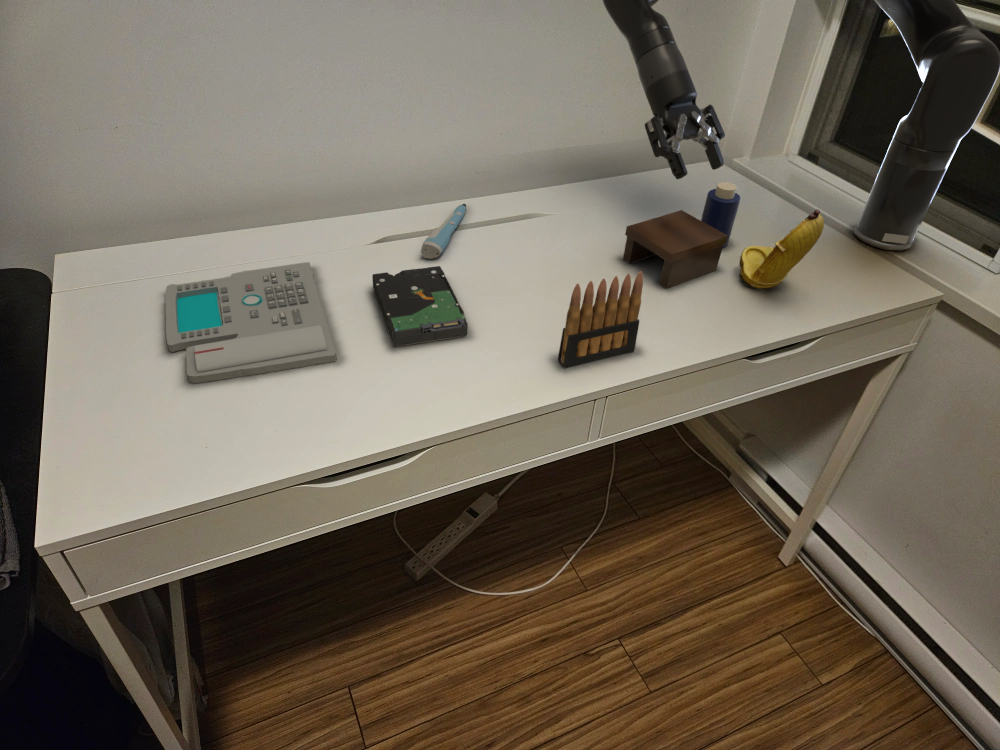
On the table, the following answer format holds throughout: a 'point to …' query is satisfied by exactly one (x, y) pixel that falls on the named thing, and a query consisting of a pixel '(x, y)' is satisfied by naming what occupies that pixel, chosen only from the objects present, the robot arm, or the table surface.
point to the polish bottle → (721, 208)
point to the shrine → (779, 255)
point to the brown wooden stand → (676, 246)
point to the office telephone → (248, 323)
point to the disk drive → (419, 306)
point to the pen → (442, 234)
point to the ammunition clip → (601, 322)
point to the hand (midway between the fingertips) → (700, 172)
